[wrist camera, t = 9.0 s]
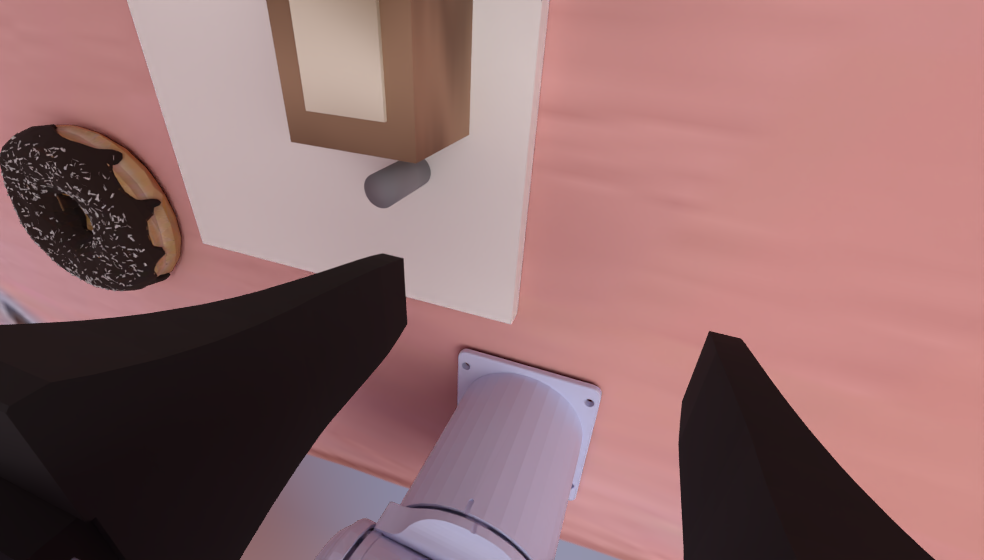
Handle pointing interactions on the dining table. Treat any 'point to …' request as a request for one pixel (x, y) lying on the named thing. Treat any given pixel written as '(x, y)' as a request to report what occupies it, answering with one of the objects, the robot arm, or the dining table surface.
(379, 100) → the brown rectangular box
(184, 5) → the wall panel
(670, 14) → the dining table surface
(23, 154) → the donut
